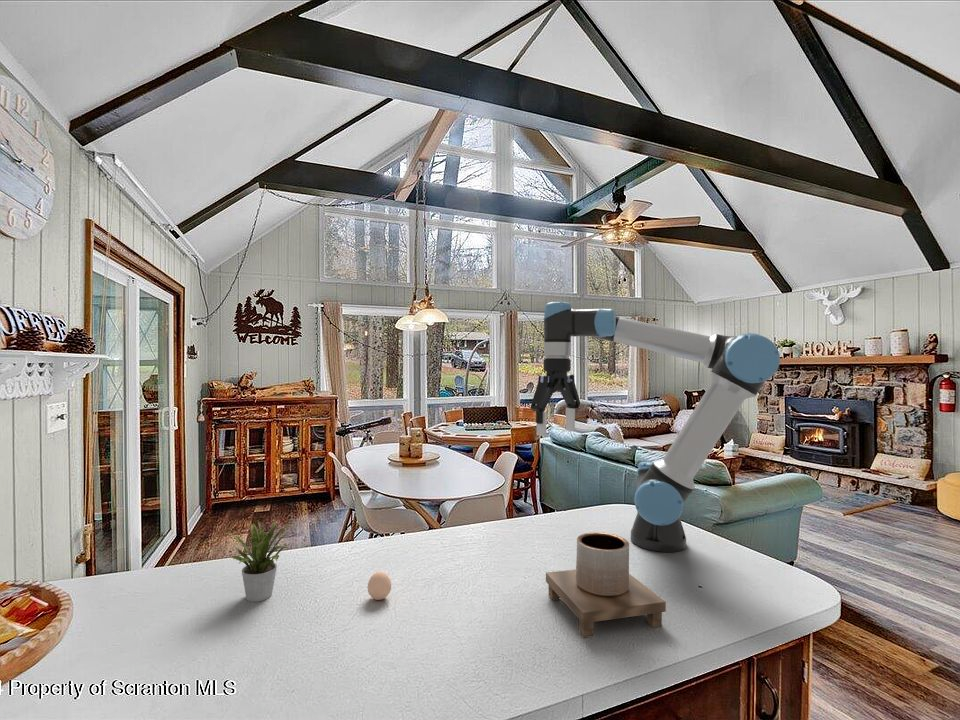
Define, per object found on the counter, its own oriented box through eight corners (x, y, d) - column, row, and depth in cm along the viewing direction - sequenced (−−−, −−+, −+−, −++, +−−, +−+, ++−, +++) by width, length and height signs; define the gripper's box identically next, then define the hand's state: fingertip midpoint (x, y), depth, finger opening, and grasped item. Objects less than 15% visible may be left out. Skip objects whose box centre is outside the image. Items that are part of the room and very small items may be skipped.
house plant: (313, 589, 113) (314, 517, 113) (263, 618, 101) (264, 537, 101) (267, 577, 119) (267, 508, 119) (214, 602, 107) (215, 526, 107)
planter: (631, 601, 100) (632, 553, 100) (575, 595, 102) (576, 548, 102) (626, 577, 110) (627, 534, 110) (576, 572, 113) (576, 530, 112)
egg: (365, 595, 111) (365, 569, 111) (388, 591, 113) (388, 565, 113) (369, 606, 106) (370, 578, 106) (393, 602, 108) (393, 574, 108)
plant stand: (617, 586, 117) (617, 564, 117) (665, 626, 100) (665, 601, 100) (545, 594, 112) (545, 572, 112) (582, 639, 95) (583, 612, 95)
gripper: (571, 357, 153) (570, 427, 153) (518, 357, 135) (517, 436, 136) (592, 357, 148) (591, 430, 148) (540, 357, 130) (539, 439, 130)
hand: (556, 433), depth 142 cm, fingers open, 13 cm apart
